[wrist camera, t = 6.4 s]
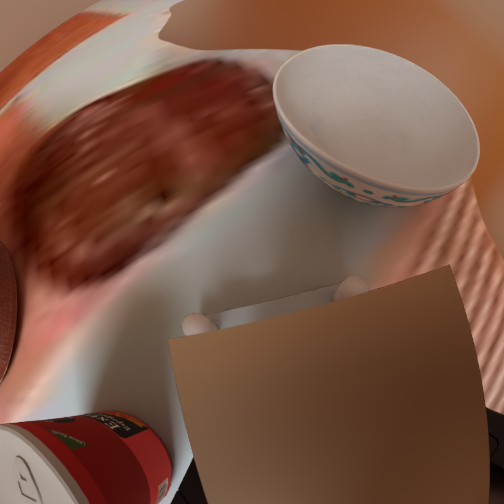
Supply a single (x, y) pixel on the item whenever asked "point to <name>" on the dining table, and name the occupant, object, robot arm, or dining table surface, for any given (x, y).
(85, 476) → the canned food
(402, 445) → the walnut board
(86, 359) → the dining table surface
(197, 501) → the robot arm
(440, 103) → the chinaware
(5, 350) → the planter
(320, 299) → the peg seat
